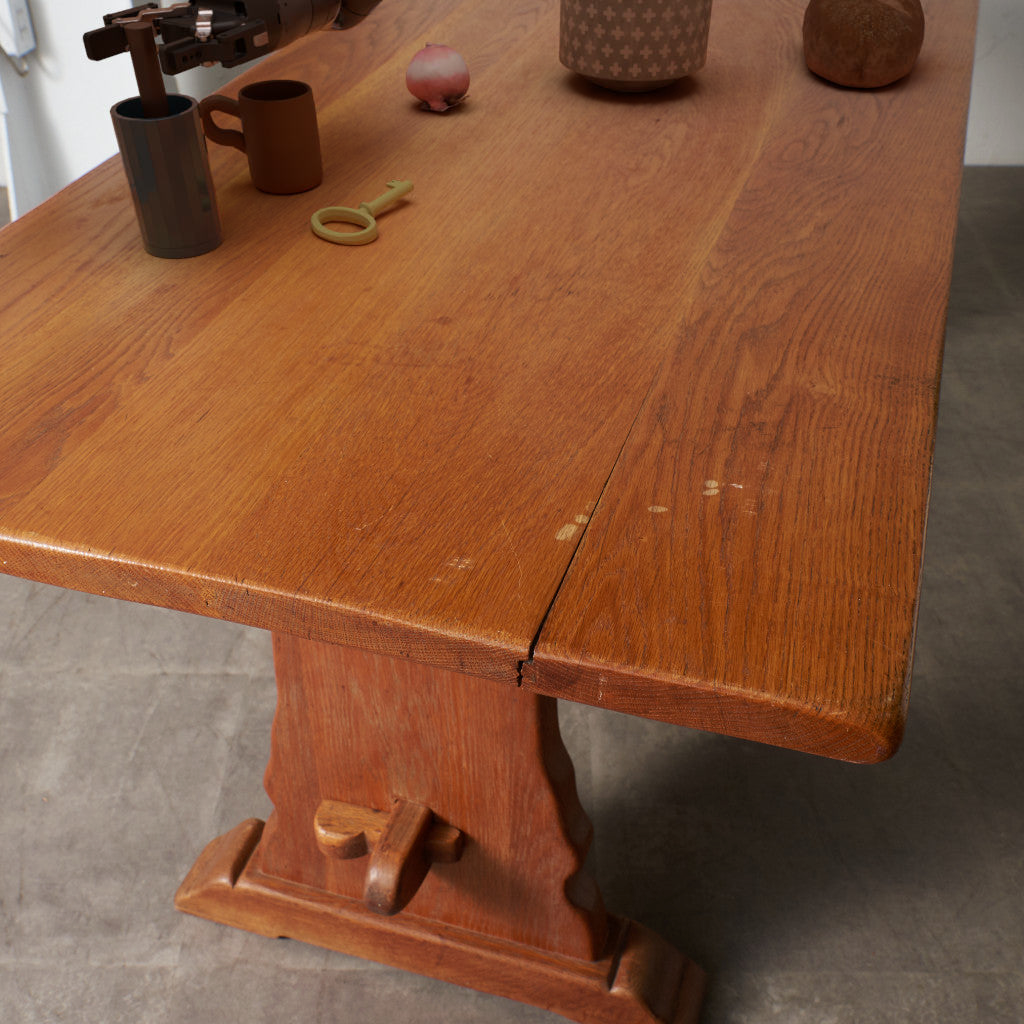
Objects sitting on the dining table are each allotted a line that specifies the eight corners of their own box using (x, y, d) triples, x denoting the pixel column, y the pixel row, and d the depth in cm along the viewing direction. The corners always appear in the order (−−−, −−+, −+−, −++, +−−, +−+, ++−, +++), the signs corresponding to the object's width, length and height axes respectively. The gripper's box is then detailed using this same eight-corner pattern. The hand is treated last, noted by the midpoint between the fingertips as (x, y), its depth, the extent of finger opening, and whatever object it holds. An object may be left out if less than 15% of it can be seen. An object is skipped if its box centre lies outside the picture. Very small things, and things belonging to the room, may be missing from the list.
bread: (796, 89, 131) (812, -7, 124) (798, 30, 153) (812, -55, 146) (921, 97, 128) (946, 0, 121) (906, 36, 150) (925, -50, 143)
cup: (130, 255, 93) (94, 118, 85) (163, 223, 99) (132, 91, 91) (206, 261, 92) (177, 122, 84) (235, 227, 98) (210, 94, 90)
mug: (205, 200, 103) (186, 105, 97) (213, 172, 109) (195, 81, 103) (323, 194, 104) (312, 100, 98) (325, 166, 110) (313, 77, 104)
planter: (730, 95, 129) (751, -66, 117) (595, 114, 124) (604, -53, 112) (659, 56, 143) (672, -92, 131) (536, 71, 137) (538, -82, 126)
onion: (473, 97, 129) (471, 36, 124) (469, 117, 123) (467, 54, 118) (410, 96, 129) (407, 36, 124) (404, 116, 123) (399, 54, 118)
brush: (148, 239, 94) (97, 31, 82) (169, 218, 97) (123, 16, 86) (197, 243, 93) (153, 34, 82) (216, 221, 97) (176, 18, 85)
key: (417, 199, 103) (416, 178, 102) (366, 249, 94) (364, 227, 93) (354, 190, 105) (351, 170, 104) (298, 239, 96) (295, 218, 95)
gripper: (186, -41, 95) (50, -5, 84) (308, -25, 89) (180, 16, 78) (202, 44, 99) (75, 89, 88) (318, 64, 94) (199, 115, 83)
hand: (124, 55), depth 83 cm, fingers open, 8 cm apart
